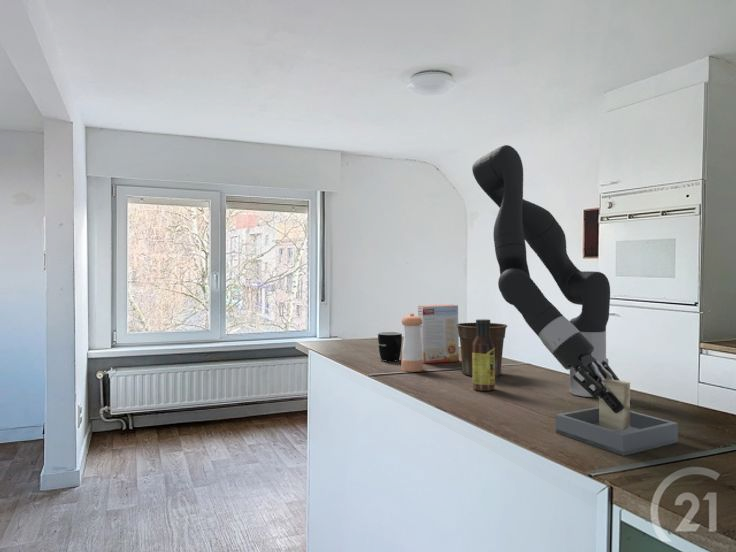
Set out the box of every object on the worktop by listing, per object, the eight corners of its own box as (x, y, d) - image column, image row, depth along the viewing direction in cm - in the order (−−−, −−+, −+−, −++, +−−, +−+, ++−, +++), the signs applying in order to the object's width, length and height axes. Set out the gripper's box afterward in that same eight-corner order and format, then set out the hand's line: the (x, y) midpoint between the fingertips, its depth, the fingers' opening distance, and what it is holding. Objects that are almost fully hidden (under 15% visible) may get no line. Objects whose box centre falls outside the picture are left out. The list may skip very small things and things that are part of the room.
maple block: (607, 422, 112) (607, 378, 112) (629, 426, 109) (630, 382, 109) (599, 426, 109) (599, 382, 109) (622, 431, 106) (622, 385, 106)
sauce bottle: (495, 392, 150) (495, 320, 149) (472, 391, 151) (472, 320, 150) (494, 387, 156) (494, 318, 156) (472, 386, 157) (472, 318, 157)
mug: (374, 359, 205) (373, 332, 205) (394, 357, 209) (394, 331, 209) (388, 364, 194) (388, 336, 194) (410, 362, 198) (410, 334, 198)
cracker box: (452, 359, 204) (452, 303, 204) (459, 361, 198) (459, 305, 198) (417, 361, 200) (417, 304, 200) (423, 363, 195) (423, 305, 194)
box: (608, 422, 120) (608, 405, 120) (677, 442, 106) (677, 423, 106) (555, 432, 113) (555, 414, 113) (623, 456, 99) (623, 435, 98)
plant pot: (475, 367, 187) (474, 320, 187) (517, 373, 176) (516, 324, 176) (446, 374, 176) (446, 324, 176) (489, 381, 164) (489, 328, 164)
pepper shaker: (422, 372, 179) (421, 314, 179) (400, 371, 181) (400, 314, 180) (423, 368, 187) (423, 312, 186) (402, 367, 188) (402, 312, 187)
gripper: (563, 334, 109) (627, 404, 101) (590, 328, 119) (649, 390, 111) (538, 357, 113) (598, 426, 105) (566, 349, 123) (622, 411, 115)
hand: (624, 407), depth 108 cm, fingers closed on maple block, 4 cm apart
